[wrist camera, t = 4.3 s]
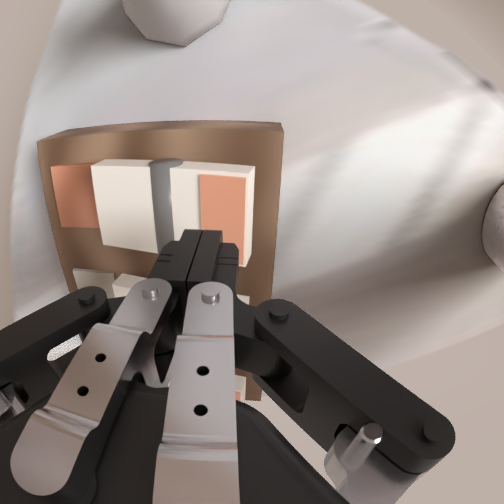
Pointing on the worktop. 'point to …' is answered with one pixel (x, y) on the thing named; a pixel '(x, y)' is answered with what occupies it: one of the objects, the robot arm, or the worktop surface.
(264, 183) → the switch unit
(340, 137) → the worktop surface
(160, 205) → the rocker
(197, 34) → the flask
